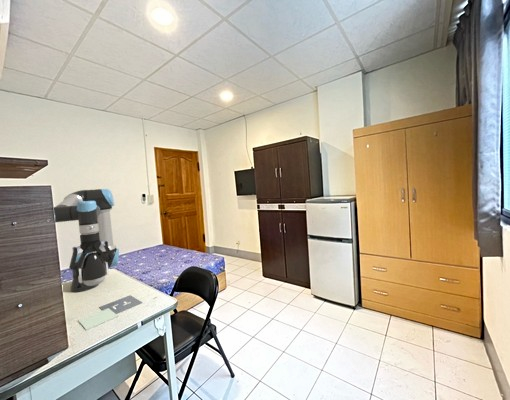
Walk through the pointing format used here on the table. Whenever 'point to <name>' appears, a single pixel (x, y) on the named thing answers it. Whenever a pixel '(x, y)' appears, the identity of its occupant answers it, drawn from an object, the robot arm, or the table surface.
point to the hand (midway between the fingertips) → (94, 278)
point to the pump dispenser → (93, 269)
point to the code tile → (121, 304)
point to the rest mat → (97, 318)
